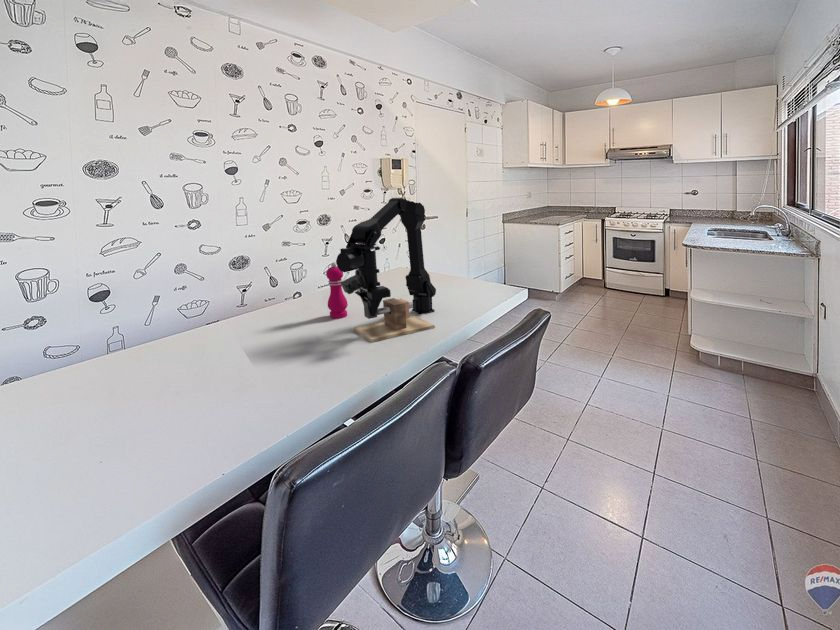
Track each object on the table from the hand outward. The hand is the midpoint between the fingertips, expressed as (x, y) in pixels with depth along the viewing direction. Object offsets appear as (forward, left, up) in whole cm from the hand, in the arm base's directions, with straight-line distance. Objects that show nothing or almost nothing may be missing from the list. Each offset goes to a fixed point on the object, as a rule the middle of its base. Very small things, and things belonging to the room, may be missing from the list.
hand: (370, 314), depth 143 cm
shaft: (-7, 0, -1) cm, 7 cm away
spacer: (-11, 0, -3) cm, 12 cm away
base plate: (-8, 0, -6) cm, 10 cm away
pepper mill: (+2, -26, -7) cm, 27 cm away
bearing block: (-8, 0, -6) cm, 11 cm away
